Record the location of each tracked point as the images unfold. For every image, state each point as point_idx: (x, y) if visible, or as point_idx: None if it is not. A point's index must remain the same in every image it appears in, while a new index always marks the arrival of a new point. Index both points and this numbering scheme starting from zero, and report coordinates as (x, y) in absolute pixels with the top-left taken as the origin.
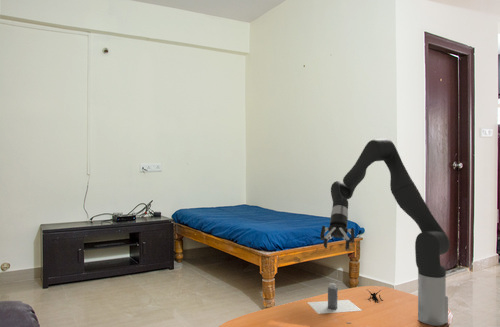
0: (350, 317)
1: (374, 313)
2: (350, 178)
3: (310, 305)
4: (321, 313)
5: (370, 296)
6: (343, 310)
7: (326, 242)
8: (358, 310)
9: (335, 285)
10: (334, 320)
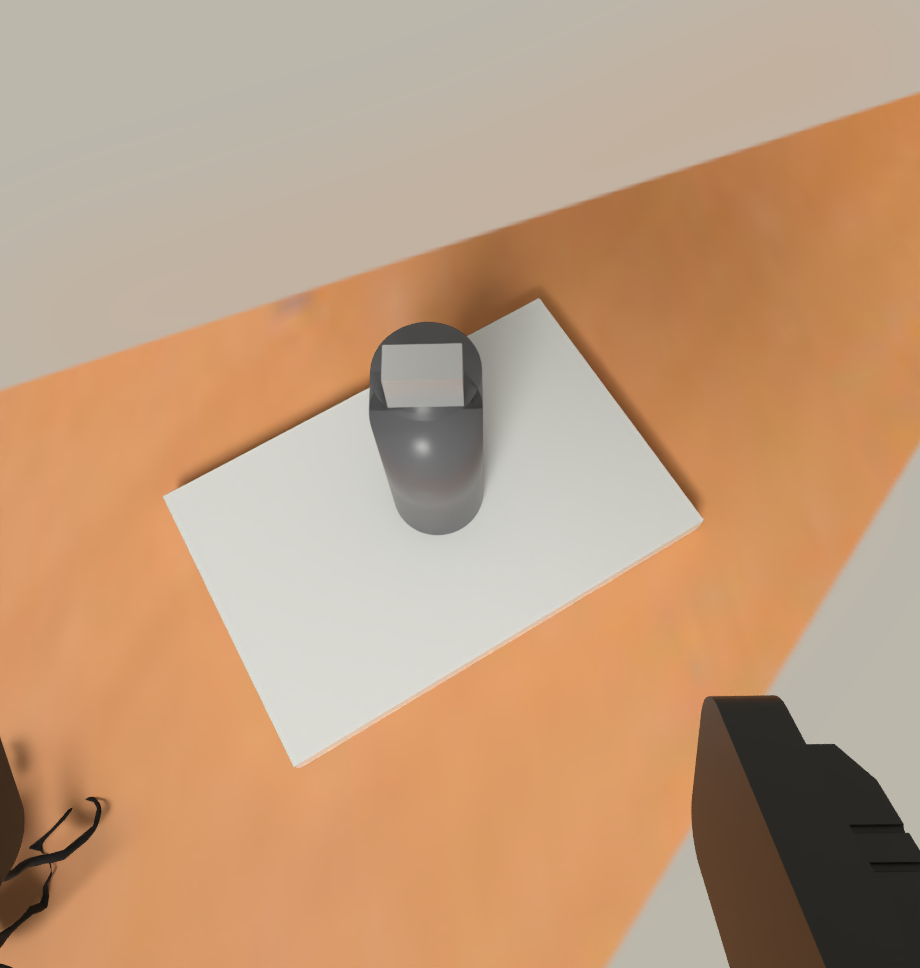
0: (277, 391)
1: (59, 551)
2: None
3: (650, 451)
4: (512, 312)
5: (16, 869)
6: (333, 439)
7: (782, 812)
8: (196, 483)
9: (385, 349)
10: (400, 294)
